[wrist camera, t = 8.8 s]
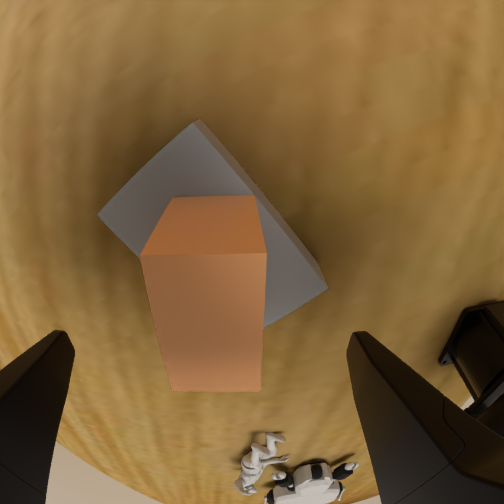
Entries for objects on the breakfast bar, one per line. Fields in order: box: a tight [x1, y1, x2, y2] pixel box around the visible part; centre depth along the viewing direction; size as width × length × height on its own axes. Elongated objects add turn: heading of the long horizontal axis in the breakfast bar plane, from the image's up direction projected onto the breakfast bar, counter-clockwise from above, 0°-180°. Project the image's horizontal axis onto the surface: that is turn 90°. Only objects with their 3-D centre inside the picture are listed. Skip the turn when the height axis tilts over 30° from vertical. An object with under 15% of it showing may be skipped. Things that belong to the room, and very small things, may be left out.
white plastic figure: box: [234, 432, 290, 495], centre depth 27 cm, size 8×5×12 cm
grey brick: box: [97, 119, 329, 328], centre depth 15 cm, size 10×6×3 cm, turn 38°
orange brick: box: [140, 195, 267, 392], centre depth 11 cm, size 6×3×5 cm, turn 0°
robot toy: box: [264, 462, 359, 504], centre depth 33 cm, size 12×4×15 cm
